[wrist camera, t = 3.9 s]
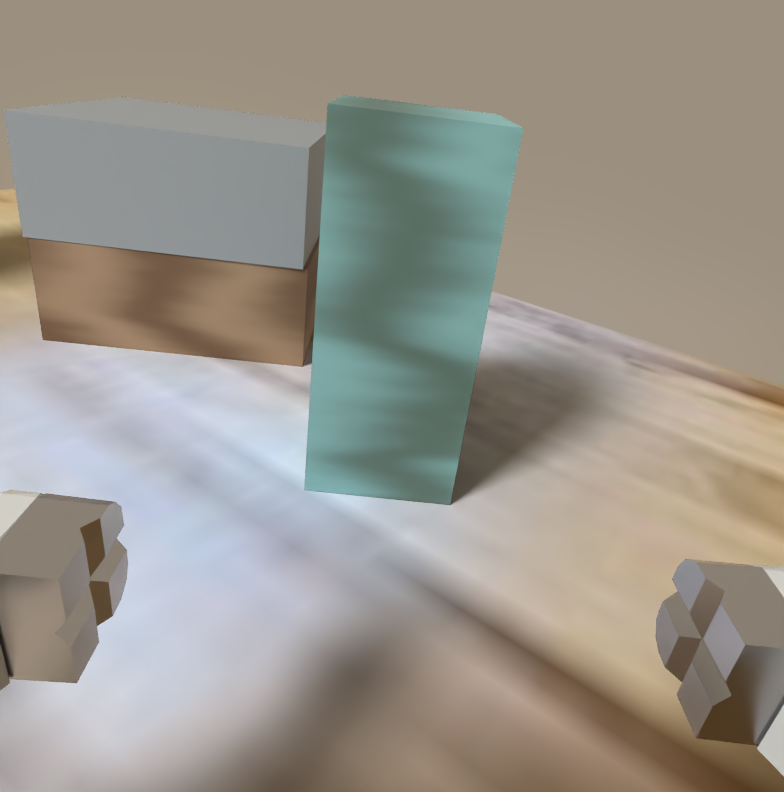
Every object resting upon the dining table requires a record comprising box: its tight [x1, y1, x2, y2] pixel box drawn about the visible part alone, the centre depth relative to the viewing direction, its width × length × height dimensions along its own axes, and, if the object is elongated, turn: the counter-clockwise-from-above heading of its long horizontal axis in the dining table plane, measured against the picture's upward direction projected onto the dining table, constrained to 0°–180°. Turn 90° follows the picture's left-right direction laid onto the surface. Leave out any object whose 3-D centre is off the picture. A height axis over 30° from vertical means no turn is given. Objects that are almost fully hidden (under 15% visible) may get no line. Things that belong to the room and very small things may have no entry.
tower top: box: [3, 97, 326, 269], centre depth 32 cm, size 12×12×5 cm
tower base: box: [28, 235, 320, 367], centre depth 34 cm, size 12×12×5 cm
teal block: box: [304, 95, 523, 505], centre depth 21 cm, size 5×5×12 cm
